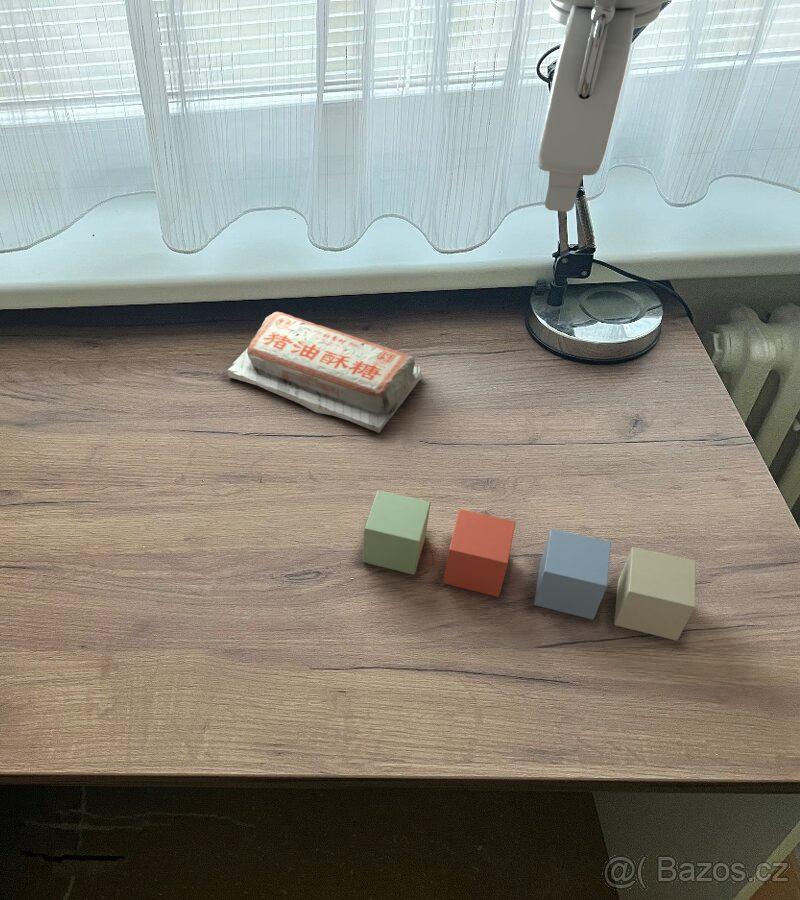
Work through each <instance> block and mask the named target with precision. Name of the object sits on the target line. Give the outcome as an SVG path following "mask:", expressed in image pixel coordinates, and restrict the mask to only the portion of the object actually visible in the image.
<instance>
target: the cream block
mask: <svg viewBox="0 0 800 900" xmlns="http://www.w3.org/2000/svg"><path fill="white" fill-rule="evenodd" d="M696 575H697V561H696V560H693V559H691V558H686V557H680V556H676V555H672V554H667V553H663V552H658V551H654V550H649V549H644V548H641V547H637V546H636V547H635V546H632V547H631V548H630V551H629V554H628V555H627V558H626V560H625V563H624V565H623V568H622V570H621V573H620V575H619V578H618V580H617V586H616V587H617V588H616V599H615V610H614V612H615V613H614V621H613V622H614V623H613V624H614V626H616V627H620V628H623V629H628V630H633V631H637V632H640V633H643V634H644V633H645V634H647V635H652V636H656V637H661V638H664V639H668V640H673V641H678V640H679V639H680V636H681V635H682V633H683V631H684V629H685V627H686V625H687V624H688V622H689V620H690V618H691V616H692V614H693V612H694V610H695V609H696V593H697V592H696V591H697V588H696V586H697V576H696Z"/></svg>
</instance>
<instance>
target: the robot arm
mask: <svg viewBox="0 0 800 900" xmlns="http://www.w3.org/2000/svg"><path fill="white" fill-rule="evenodd" d="M670 1H671V0H549V2H548V3H549V4H548V10H547V11H548V14H549V16H550V17H551V18H552V19H553V20H554V21H555V22H558V24H560V25H562V26H565V28H564V31H563V33H562V38H561V42H560V45H559V49H558V53H557V58H556V61H555V67H554V71H553V77H552V81H551V85H550V91H549V96H548V100H547V105H546V110H545V115H544V121H543V125H542V130H541V135H540V140H539V145H538V150H537V167H538V168H539V169H540V170H541V171H544V172H549V173H548V186H547V191H546V196H545V201H544V206H545V208H546V209H547V210H549V211H555V212H563V213H567V212H570V211H572V210H573V209H574V207H575V203H576V199H577V196H578V192H579V189H580V188H579V187H580V185H581V182H582V180H583V178H584V176H594V175H596V174H597V173H598V172H599V171H600V169H601V168H602V165H603V163H604V160H605V157H606V153H607V150H608V146H609V142H610V137H611V134H612V131H613V126H614V122H615V117H616V115H617V109H618V106H619V102H620V98H621V93H622V90H623V85H624V81H625V76H626V74H627V73H626V72H627V69H628V64H629V60H630V54H631V49H632V42H633V37H634V30H635V29H638V28H639V29H640V28H643V27H644V26H647V25H649V24H651V23H653V22H654V21H655V20H656V19H658V17H659V16H660V12H661V9H662V4H664V3H667V2H670Z"/></svg>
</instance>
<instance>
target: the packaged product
mask: <svg viewBox="0 0 800 900" xmlns="http://www.w3.org/2000/svg"><path fill="white" fill-rule="evenodd" d="M415 361H416V359H415V357H414V356H413V355H411V354H410V355H409V354H407V353H404V352H401V351H399V350H396V349H393V348H390V347H387V346H384V345H381V344H378V343H374V342H372V341H368V340H365V339H362V338H360V337H356V336H354V335H351V334H348V333H344V332H341V331H339V330H336V329H332V328H329V327H327V326H323V325H320V324H316V323H314V322H311V321H307V320H305V319H303V318H299V317H296V316H293V315H291V314H287V313H284V312H280V311H274V312H272V314H269V315H268V316H266V317H265V318H264V321H262V324H261V326H260V327H259V329H258V330H257V332H256V334H255V335H254V337H252V338H251V341H250V342H249V346H248V347H247V348H246V349H244V351H243V352H242V353H241V354H240V355H239V356H238V357H237V358H236V359H235V361H233V362H232V364H231V366H230V367H229V368H228V369H226V372H227V375H228V378H231V379H234V380H238V381H242V382H244V383H247V384H252V385H254V386H258V387H260V388H262V389H264V390H266V391H269V392H271V393H273V394H276V395H278V396H281V397H283V398H284V399H288V400H290V401H292V402H295V403H297V404H300V405H301V406H303V407H305V408H306V409H309V410H311V412H314V413H317V414H323V415H328V416H334V417H337V418H339V419H343V420H346V421H349V422H350V423H354V424H356V425H359V426H361V427H363V428H365V429H368V430H371V431H373V432H376V433H379V434H380V432H381V431H382V430H383V429H384V427H385V426H386V425H387V424H388V422H389V421H390V420H391V419H392V417H393V416H394V415H395V413H396V412H397V410H398V409H399V408H400V407H401V406H402V404H403V403H404V402H405V400H406V399H407V398H408V396H409V394H410V393H411V392H412V391H413V389H414V388H415V387H416V385H418V383H419V381H420V380H421V379H422V377H423V375H422V372H421V368H420V365H416V362H415Z"/></svg>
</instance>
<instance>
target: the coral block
mask: <svg viewBox="0 0 800 900" xmlns="http://www.w3.org/2000/svg"><path fill="white" fill-rule="evenodd" d="M515 529H516V521H515V520H511V519H506V518H502V517H497V516H493V515H489V514H484V513H480V512H476V511H470V510H465V509H461V508H460V509H458V512H457V516H456V520H455V524H454V528H453V532H452V535H451V540H450V544H449V548H448V553H447V558H446V563H445V568H444V574H443V580H442V583H443V584H445V585H449V586H453V587H456V588H460V589H466V590H469V591H473V592H476V593H477V592H478V593H482V594H484V595H489V596H493V597H497V598H499V597H500V596H501V591H502V587H503V584H504V579H505V576H506V572H507V567H508V566H509V565H508V564H509V561H510V555H511V549H512V544H513V539H514V533H515Z"/></svg>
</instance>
